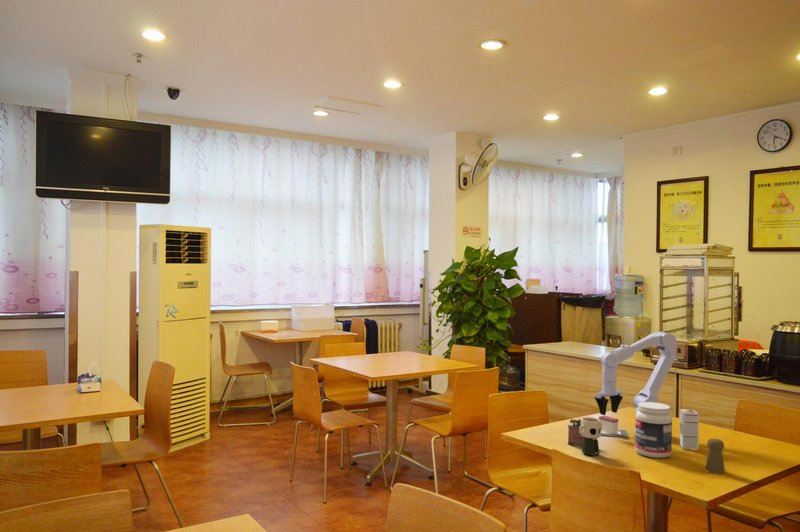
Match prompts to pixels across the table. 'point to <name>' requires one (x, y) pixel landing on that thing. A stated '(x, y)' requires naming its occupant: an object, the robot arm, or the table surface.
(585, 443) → the character mug
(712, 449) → the grey pepper shaker
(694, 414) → the syrup box
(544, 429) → the table surface
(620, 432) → the mat
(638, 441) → the supplement tub
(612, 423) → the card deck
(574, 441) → the lighter
